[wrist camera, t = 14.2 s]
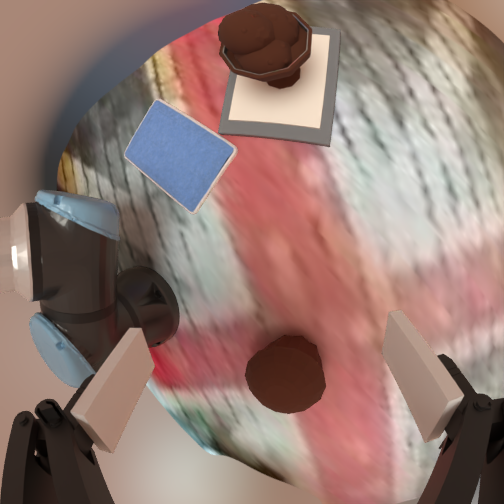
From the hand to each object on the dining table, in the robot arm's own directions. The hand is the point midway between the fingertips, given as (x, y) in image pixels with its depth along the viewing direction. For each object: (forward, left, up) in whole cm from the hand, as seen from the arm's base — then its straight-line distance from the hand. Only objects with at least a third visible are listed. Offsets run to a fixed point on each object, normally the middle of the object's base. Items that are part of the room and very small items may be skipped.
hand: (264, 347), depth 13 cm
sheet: (-8, +25, -25) cm, 36 cm away
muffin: (+1, -17, -26) cm, 31 cm away
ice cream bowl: (-8, +25, -24) cm, 36 cm away
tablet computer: (-24, +12, -27) cm, 38 cm away
